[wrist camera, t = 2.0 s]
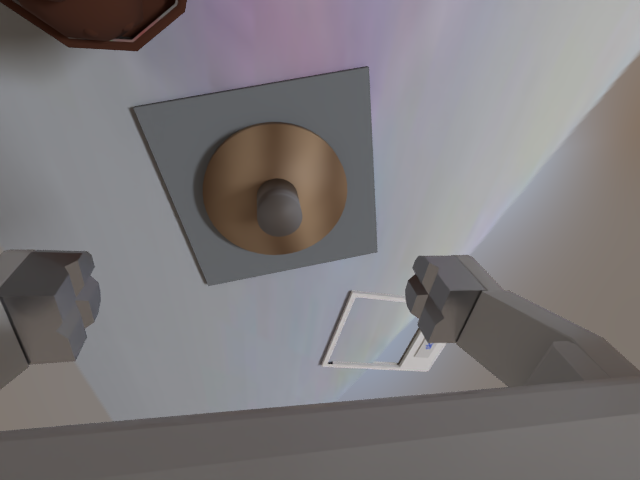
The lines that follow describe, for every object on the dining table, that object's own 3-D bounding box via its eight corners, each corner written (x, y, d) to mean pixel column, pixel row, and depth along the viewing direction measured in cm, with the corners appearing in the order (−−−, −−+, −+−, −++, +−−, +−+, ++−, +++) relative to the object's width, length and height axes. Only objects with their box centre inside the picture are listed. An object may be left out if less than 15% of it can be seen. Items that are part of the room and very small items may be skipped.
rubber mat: (367, 66, 31) (368, 67, 30) (376, 249, 42) (377, 252, 42) (134, 106, 30) (133, 107, 29) (208, 283, 41) (208, 286, 41)
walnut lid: (337, 108, 32) (350, 124, 28) (350, 235, 40) (362, 262, 36) (182, 137, 31) (171, 158, 27) (227, 260, 39) (224, 291, 35)
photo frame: (428, 372, 57) (322, 367, 52) (425, 366, 58) (320, 361, 53) (472, 306, 50) (352, 293, 45) (468, 301, 50) (350, 287, 46)
